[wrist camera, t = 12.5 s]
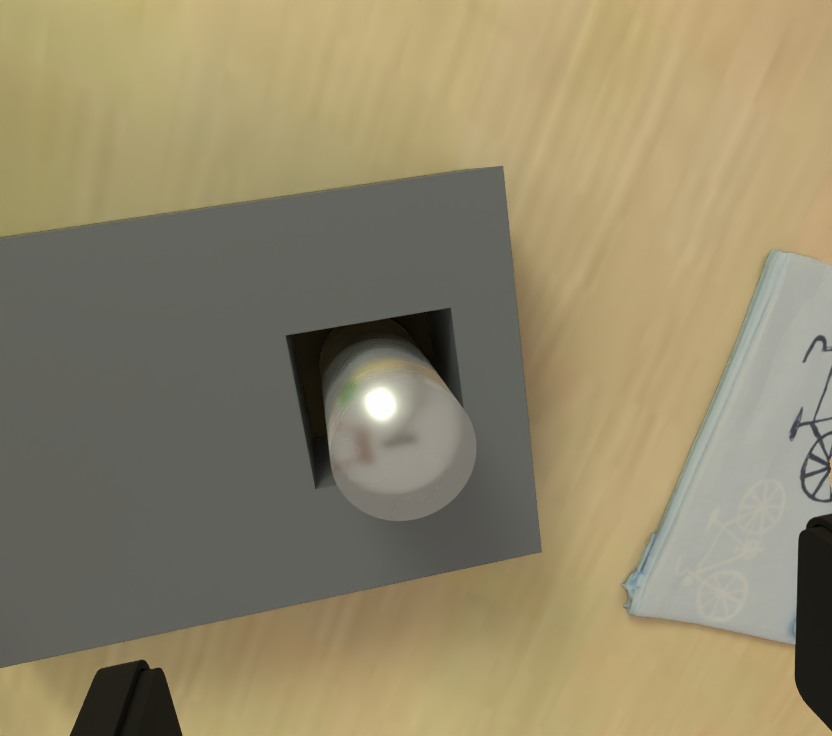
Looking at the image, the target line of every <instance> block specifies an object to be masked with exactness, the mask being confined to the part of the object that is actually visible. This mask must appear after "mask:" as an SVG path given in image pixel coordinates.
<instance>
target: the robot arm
mask: <svg viewBox="0 0 832 736" xmlns="http://www.w3.org/2000/svg"><path fill="white" fill-rule="evenodd" d="M795 682H796V686H797V689H798V691H799V693H800V695H801V697H802V699H803V700H804V701H805V703H806V704H807V705H808V706H809V707H810V708H811V709H812V711H813V712H814V713H815V714H816V715H817V716H818V717H819V718H820V719H821V720H822V721H823V722H824V723H825V724H826V725H827V727H828V728H829V729H830V730H831V731H832V513H831V514H827V515H822V516H817V517H813V518H812V519H810V520H809V521H808V523H807V525H806V529H805V530H803V531H801V533H800V534H799V539H798V569H797V607H796V644H795ZM70 736H182V732H181V729H180V725H179V722H178V719H177V715H176V712H175V708H174V705H173V701H172V698H171V695H170V691H169V688H168V684H167V681H166V677H165V675H164V672H163V670H162V669H161V668H155V669H150V668H149V665H148V664H147V662H146V661H144V660H139V661H134V662H129V663H124V664H120V665H115V666H110V667H106V668H101V669H100V670H98V671H97V673H96V675H95V677H94V679H93V682H92V684H91V686H90V689H89V691H88V694H87V696H86V698H85V701H84V703H83V706H82V708H81V710H80V713H79V715H78V718H77V720H76V722H75V725H74V727H73V730H72V732H71V734H70Z"/></svg>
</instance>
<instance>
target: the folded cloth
mask: <svg viewBox="0 0 832 736" xmlns="http://www.w3.org/2000/svg"><path fill="white" fill-rule="evenodd" d="M831 456H832V265H829V264H826V263H824V262H821V261H819V260H816V259H814V258H811V257H806V256H802V255H799V254H795V253H791V252H786V253H783V252H781V251H779V250H775V249H774V250H772V251H771V252H770V254H769V256H768V258H767V260H766V262H765V265H764V268H763V271H762V274H761V277H760V279H759V282H758V285H757V287H756V290H755V292H754V295H753V298H752V301H751V304H750V306H749V309H748V312H747V314H746V317H745V320H744V323H743V326H742V328H741V331H740V334H739V336H738V339H737V341H736V344H735V346H734V349H733V351H732V354H731V356H730V358H729V361H728V363H727V365H726V368H725V370H724V373H723V375H722V378H721V380H720V383H719V385H718V387H717V390H716V392H715V395H714V397H713V400H712V402H711V405H710V407H709V409H708V412H707V414H706V416H705V418H704V421H703V423H702V425H701V428H700V430H699V432H698V434H697V436H696V439H695V441H694V443H693V446H692V448H691V451H690V453H689V455H688V458H687V460H686V463H685V465H684V468H683V471H682V473H681V475H680V478H679V480H678V482H677V485H676V487H675V490H674V492H673V494H672V497H671V499H670V502H669V504H668V506H667V509H666V511H665V514H664V516H663V519H662V521H661V524H660V526H659V528H658V531H657V533H652V536H651V540H650V543H649V544H648V545H646V547H645V549H644V551H643V553H642V556H641V558H640V560H639V562H638V564H637V567H636V570H635V572H633V573H632V574H631V575H630V576H629V578H628V580H627V582H626V583H621V585H622V586H623V587H624V588H625V589H626V590H627V593H628V601H627V603H626V604H624V605H623V607H625V608H627V613H628V614H629V615H630V614H634V615H635V616H639V617H653V618H661V619H668V620H674V621H681V622H688V623H694V624H700V625H704V626H709V627H714V628H719V629H724V630H729V631H733V632H739V633H743V634H747V635H752V636H757V637H761V638H765V639H769V640H773V641H778V642H784V643H789V644H793V645H795V644H796V607H797V569H798V539H799V534H800V533H801V531H803V530H805V529H806V525H807V523H808V521H809V520H810V519H812V518H813V517H817V516H822V515H827V514H831V513H832V493H831V487H830V483H829V473H830V470H831V468H830V466H829V465H830V463H829V459H831Z"/></svg>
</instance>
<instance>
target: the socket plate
mask: <svg viewBox="0 0 832 736" xmlns="http://www.w3.org/2000/svg"><path fill="white" fill-rule="evenodd" d="M427 311H429V318H430V325H431V333H432V340H433V347H434V355H435V362H436V370H437V373H438V375H439V376H440V377H441V379H442V380H443V381H444V383H445V384H446V386H447V387H448V388H449V390H450V391H451V392H452V394H453V395H454V396H455V398H456V399H457V401H458V402H459V403H460V405H461V406H462V407H463V409H464V410H465V412H466V413H467V415H468V416H469V418H470V420H471V422H472V425H473V428H474V431H475V436H476V447H477V450H476V459H475V464H474V467H473V470H472V473H471V475H470V477H469V479H468V481H467V483H466V485H465V486H464V488H463V489H462V491H461V492H460V493H459V494H458V495H457V496H456V497H455V498H454V499H453V500H452V501H451V502H450V503H449V504H447V505H446V506H445V507H443V508H442V509H440V510H438V511H436V512H435V513H433V514H430V515H428V516H425V517H422V518H418V519H415V520H408V521H391V520H384V519H380V518H376V517H373V516H371V515H368V514H366V513H365V512H363V511H361V510H359V509H358V508H357V507H355V506H354V505H353V504H352V503H351V502H349V501H348V500H347V499H346V497H345V496H344V495H343V494H342V492H341V491H340V489H339V487H338V486H337V484H336V481H335V479H334V477H333V473H332V469H331V463H330V454H329V445H328V436H326V437H321V438H316V439H313V437H312V431H311V426H310V421H309V416H308V411H307V405H306V400H305V395H304V390H303V385H302V379H301V374H300V369H299V364H298V359H297V353H296V348H295V343H294V338H293V334H297V333H303V332H309V331H315V330H321V329H327V328H333V327H339V326H345V325H351V324H357V323H362V322H368V321H374V320H380V319H386V318H392V317H398V316H404V315H410V314H416V313H422V312H427ZM539 552H542V550H541V540H540V530H539V520H538V510H537V500H536V491H535V481H534V471H533V461H532V451H531V441H530V431H529V421H528V411H527V401H526V391H525V381H524V371H523V361H522V351H521V341H520V331H519V321H518V311H517V301H516V291H515V281H514V271H513V261H512V251H511V241H510V231H509V221H508V211H507V201H506V191H505V181H504V171H503V166H498V167H486V168H475V169H465V170H458V171H452V172H445V173H438V174H431V175H424V176H417V177H410V178H404V179H397V180H390V181H383V182H376V183H369V184H362V185H356V186H349V187H342V188H335V189H328V190H321V191H315V192H308V193H301V194H294V195H287V196H280V197H273V198H267V199H260V200H253V201H246V202H239V203H232V204H225V205H219V206H212V207H205V208H198V209H191V210H184V211H177V212H171V213H164V214H157V215H150V216H143V217H136V218H129V219H123V220H116V221H109V222H102V223H95V224H88V225H81V226H75V227H68V228H61V229H54V230H47V231H40V232H33V233H27V234H20V235H13V236H6V237H0V668H3V667H7V666H12V665H17V664H21V663H26V662H31V661H35V660H40V659H45V658H49V657H54V656H59V655H63V654H68V653H73V652H77V651H82V650H87V649H91V648H96V647H101V646H105V645H110V644H115V643H119V642H124V641H129V640H133V639H138V638H143V637H147V636H152V635H157V634H161V633H166V632H171V631H175V630H180V629H185V628H189V627H194V626H199V625H203V624H208V623H213V622H217V621H222V620H227V619H231V618H236V617H241V616H245V615H250V614H255V613H259V612H264V611H269V610H273V609H278V608H283V607H287V606H292V605H297V604H301V603H306V602H311V601H315V600H320V599H325V598H329V597H334V596H339V595H343V594H348V593H353V592H357V591H362V590H367V589H371V588H376V587H381V586H385V585H390V584H395V583H399V582H404V581H409V580H413V579H418V578H423V577H427V576H432V575H437V574H441V573H446V572H451V571H455V570H460V569H465V568H469V567H474V566H479V565H483V564H488V563H493V562H497V561H502V560H507V559H511V558H516V557H521V556H525V555H530V554H535V553H539Z"/></svg>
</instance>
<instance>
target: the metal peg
mask: <svg viewBox="0 0 832 736" xmlns="http://www.w3.org/2000/svg"><path fill="white" fill-rule="evenodd" d="M319 366H320V375H321V383H322V392H323V401H324V410H325V419H326V427H327V436H328V445H329V454H330V463H331V469H332V473H333V477H334V479H335V481H336V484H337V486H338V487H339V489H340V491H341V492H342V494H343V495H344V496H345V497H346V499H347V500H348V501H349V502H351V503H352V504H353V505H354V506H355V507H357V508H358V509H359V510H361V511H363V512H365V513H366V514H368V515H371V516H373V517H376V518H380V519H384V520H391V521H408V520H415V519H418V518H422V517H425V516H428V515H430V514H433V513H435V512H436V511H438V510H440V509H442V508H443V507H445V506H446V505H447V504H449V503H450V502H451V501H452V500H453V499H454V498H455V497H456V496H457V495H458V494H459V493H460V492H461V491H462V489H463V488H464V486H465V485H466V483H467V481H468V479H469V477H470V475H471V473H472V470H473V467H474V464H475V459H476V450H477V447H476V436H475V431H474V428H473V425H472V422H471V420H470V418H469V416H468V415H467V413H466V412H465V410H464V409H463V407H462V406H461V405H460V403H459V402H458V401H457V399H456V398H455V396H454V395H453V394H452V392H451V391H450V390H449V388H448V387H447V386H446V384H445V383H444V381H443V380H442V379H441V377H440V376H439V375H438V373H437V372H436V371H435V369H434V368H433V366H432V365H431V364H430V362H429V361H428V360H427V358H426V357H425V356H424V354H423V353H422V351H421V350H420V349H419V347H418V346H417V345H416V343H415V342H414V341H413V339H412V338H411V336H410V335H409V334H408V332H407V331H406V330H405V329H404V328H403V327H402V326H401V325H399V324H398V323H397V322H395V321H393V320H391V319H389V318H386V319H380V320H374V321H368V322H362V323H357V324H351V325H345V326H339V327H336V328H335V329H334V330H333V331H332V332H331V333H330V334H329V335H328V337H327V339H326V340H325V342H324V344H323V346H322V350H321V353H320V362H319Z"/></svg>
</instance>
